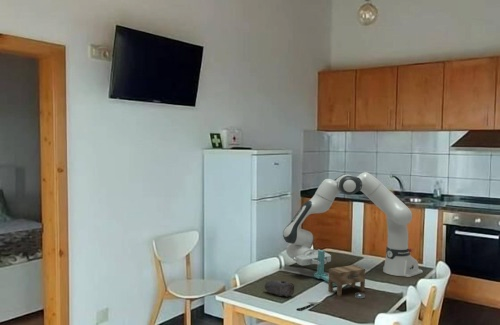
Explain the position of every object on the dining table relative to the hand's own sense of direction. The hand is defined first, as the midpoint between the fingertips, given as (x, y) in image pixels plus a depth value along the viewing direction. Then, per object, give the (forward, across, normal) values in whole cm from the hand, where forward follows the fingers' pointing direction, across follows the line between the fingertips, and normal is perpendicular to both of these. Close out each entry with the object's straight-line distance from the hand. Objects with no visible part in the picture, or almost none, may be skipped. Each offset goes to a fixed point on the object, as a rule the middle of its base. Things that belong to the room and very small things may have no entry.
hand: (322, 262), depth 240 cm
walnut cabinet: (+19, 0, +9) cm, 21 cm away
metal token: (+28, 0, +10) cm, 30 cm away
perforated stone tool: (+9, -33, +10) cm, 36 cm away
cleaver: (+23, -23, +10) cm, 34 cm away
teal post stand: (+4, 0, +8) cm, 9 cm away
